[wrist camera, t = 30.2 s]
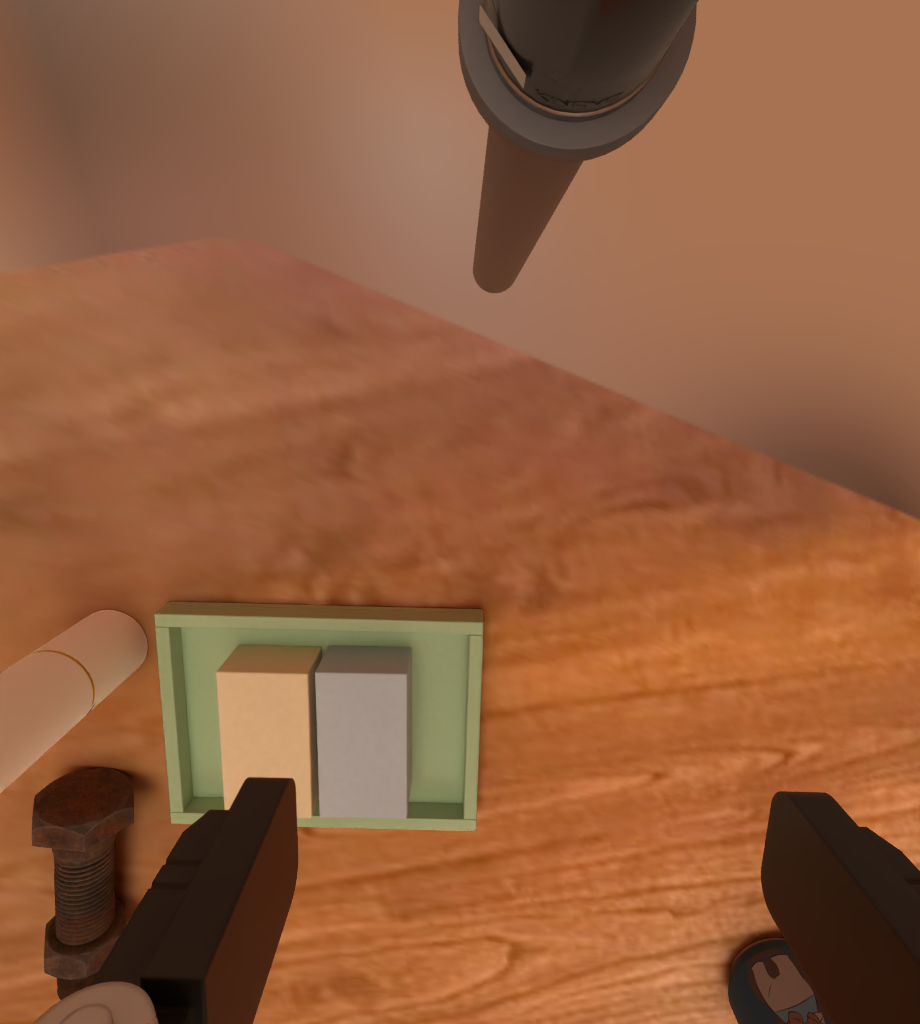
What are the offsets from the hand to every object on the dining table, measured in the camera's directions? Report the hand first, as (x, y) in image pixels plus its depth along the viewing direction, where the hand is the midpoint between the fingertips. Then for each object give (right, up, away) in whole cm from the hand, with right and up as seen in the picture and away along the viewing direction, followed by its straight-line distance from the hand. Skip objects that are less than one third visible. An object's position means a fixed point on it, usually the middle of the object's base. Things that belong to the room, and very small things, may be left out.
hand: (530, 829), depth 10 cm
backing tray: (-9, -7, +28) cm, 31 cm away
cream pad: (-12, -7, +28) cm, 31 cm away
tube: (-22, -3, +28) cm, 35 cm away
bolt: (-25, -18, +31) cm, 44 cm away
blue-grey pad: (-7, -7, +28) cm, 29 cm away
